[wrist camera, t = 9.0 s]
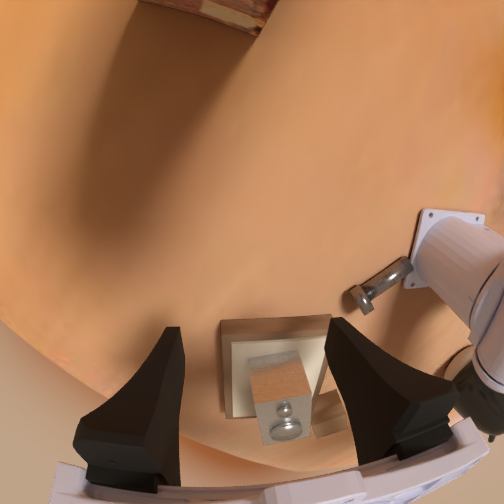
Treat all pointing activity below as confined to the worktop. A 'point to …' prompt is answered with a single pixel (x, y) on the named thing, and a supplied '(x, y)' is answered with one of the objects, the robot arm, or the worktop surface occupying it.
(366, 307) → the loose bolt
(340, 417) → the walnut block
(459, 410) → the pump dispenser
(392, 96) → the worktop surface
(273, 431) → the housing
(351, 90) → the worktop surface
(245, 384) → the stand
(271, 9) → the book
